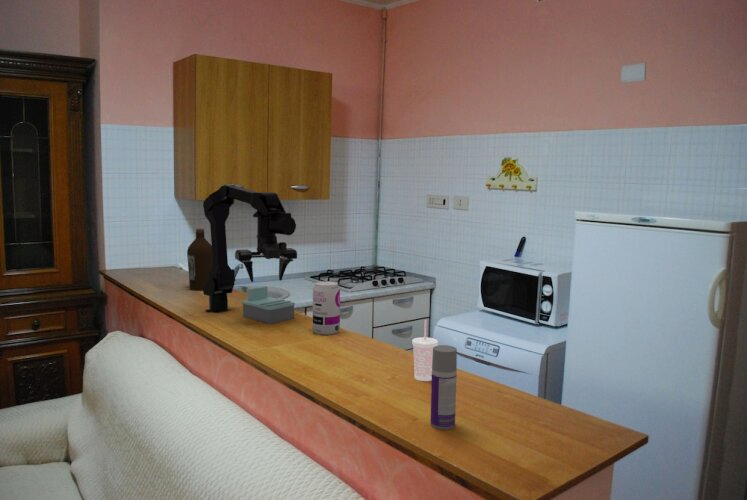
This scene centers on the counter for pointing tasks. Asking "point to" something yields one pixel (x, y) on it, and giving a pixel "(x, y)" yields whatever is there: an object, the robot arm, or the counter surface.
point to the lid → (265, 299)
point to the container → (443, 387)
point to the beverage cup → (423, 356)
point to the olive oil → (199, 261)
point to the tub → (268, 314)
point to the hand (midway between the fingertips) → (266, 281)
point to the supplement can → (326, 307)
